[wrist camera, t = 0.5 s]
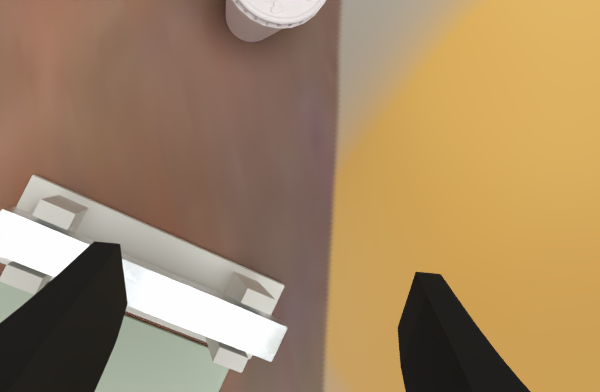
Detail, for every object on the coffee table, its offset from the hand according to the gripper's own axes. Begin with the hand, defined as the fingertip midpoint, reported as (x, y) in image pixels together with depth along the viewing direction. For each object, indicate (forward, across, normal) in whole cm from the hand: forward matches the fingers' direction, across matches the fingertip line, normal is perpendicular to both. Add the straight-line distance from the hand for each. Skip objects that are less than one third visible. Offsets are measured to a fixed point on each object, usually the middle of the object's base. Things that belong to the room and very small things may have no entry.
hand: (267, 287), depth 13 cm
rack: (+18, +9, +17) cm, 26 cm away
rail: (+14, +8, +15) cm, 22 cm away
